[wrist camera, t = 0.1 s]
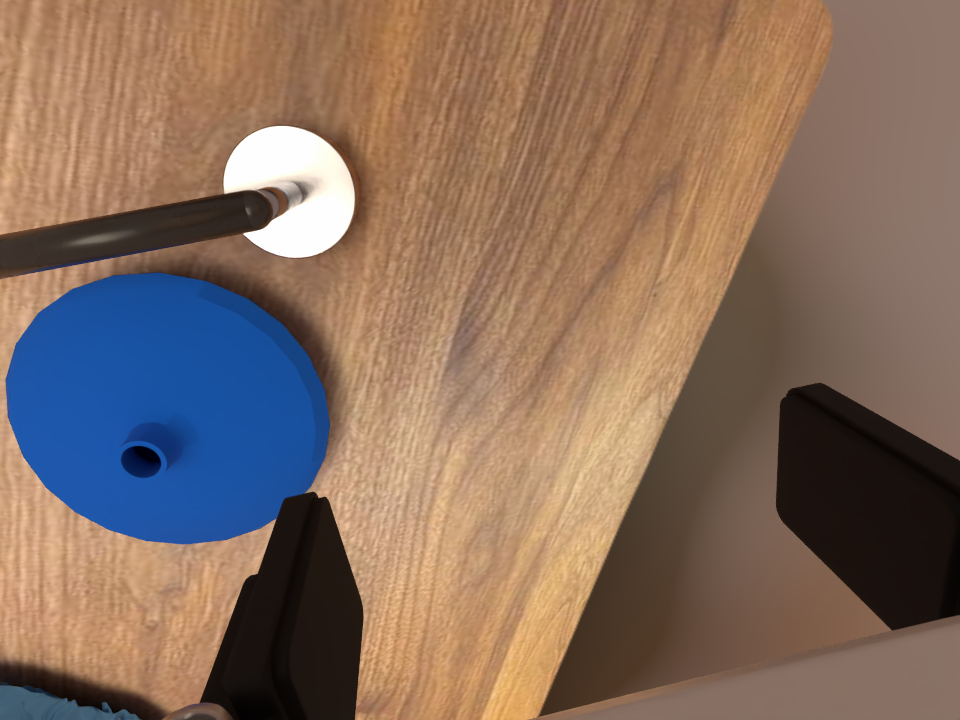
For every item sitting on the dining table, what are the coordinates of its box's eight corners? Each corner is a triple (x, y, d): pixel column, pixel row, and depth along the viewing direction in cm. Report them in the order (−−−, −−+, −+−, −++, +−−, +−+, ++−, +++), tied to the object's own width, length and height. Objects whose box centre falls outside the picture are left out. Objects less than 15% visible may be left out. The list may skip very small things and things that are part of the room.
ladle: (344, 117, 28) (310, 100, 18) (372, 236, 30) (357, 281, 20) (22, 174, 27) (-203, 190, 17) (76, 293, 29) (-94, 368, 19)
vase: (236, 208, 29) (187, 227, 22) (383, 445, 34) (378, 514, 28) (-27, 341, 29) (-152, 396, 23) (161, 550, 35) (105, 642, 29)
